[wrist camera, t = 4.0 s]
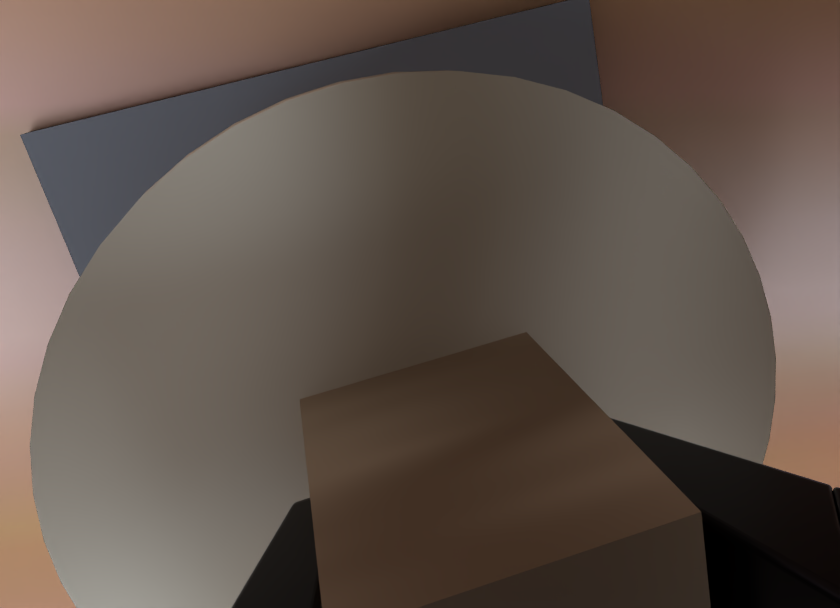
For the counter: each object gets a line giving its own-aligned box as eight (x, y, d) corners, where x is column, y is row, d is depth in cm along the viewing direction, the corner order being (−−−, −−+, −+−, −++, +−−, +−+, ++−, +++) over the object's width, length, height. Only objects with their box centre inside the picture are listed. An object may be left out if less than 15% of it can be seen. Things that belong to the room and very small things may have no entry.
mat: (579, -3, 13) (588, -5, 13) (640, 451, 17) (648, 460, 16) (28, 132, 12) (20, 134, 12) (217, 589, 16) (216, 602, 15)
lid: (726, -13, 9) (1141, -82, 5) (765, 599, 13) (1024, 875, 8) (-105, 191, 8) (-542, 346, 4) (196, 802, 11) (155, 1246, 7)
